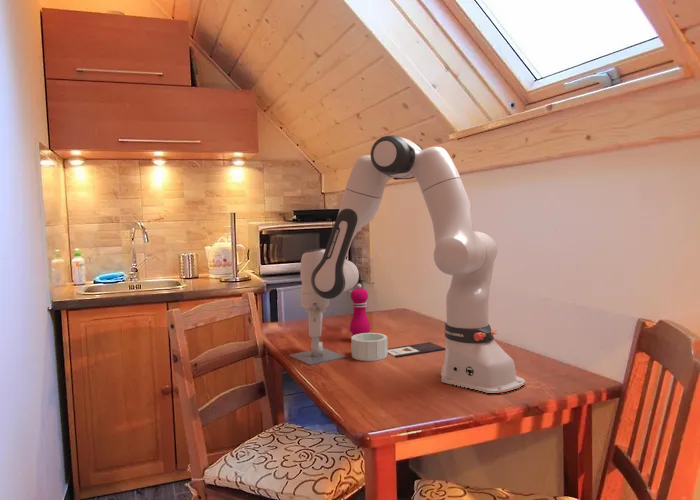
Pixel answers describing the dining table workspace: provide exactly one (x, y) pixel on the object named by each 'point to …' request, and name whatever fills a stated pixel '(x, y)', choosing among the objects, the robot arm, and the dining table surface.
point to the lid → (317, 355)
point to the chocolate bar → (414, 349)
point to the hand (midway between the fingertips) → (316, 344)
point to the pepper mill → (359, 311)
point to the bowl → (369, 346)
